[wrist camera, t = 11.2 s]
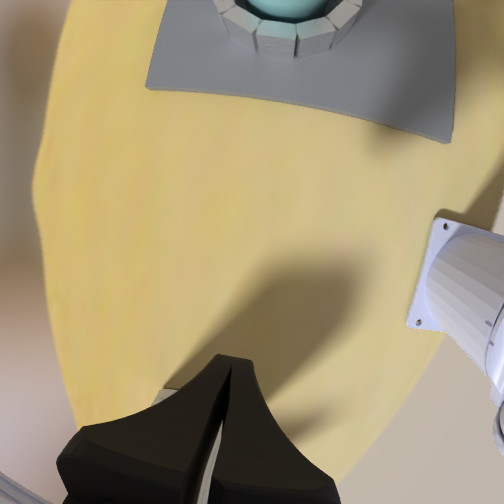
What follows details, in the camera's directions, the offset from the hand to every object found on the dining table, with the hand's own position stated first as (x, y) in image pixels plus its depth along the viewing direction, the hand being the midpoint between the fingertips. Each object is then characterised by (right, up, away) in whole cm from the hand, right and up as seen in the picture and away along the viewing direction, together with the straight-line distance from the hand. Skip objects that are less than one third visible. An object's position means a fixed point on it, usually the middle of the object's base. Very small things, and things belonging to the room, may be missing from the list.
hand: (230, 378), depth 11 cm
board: (+5, +20, +6) cm, 22 cm away
